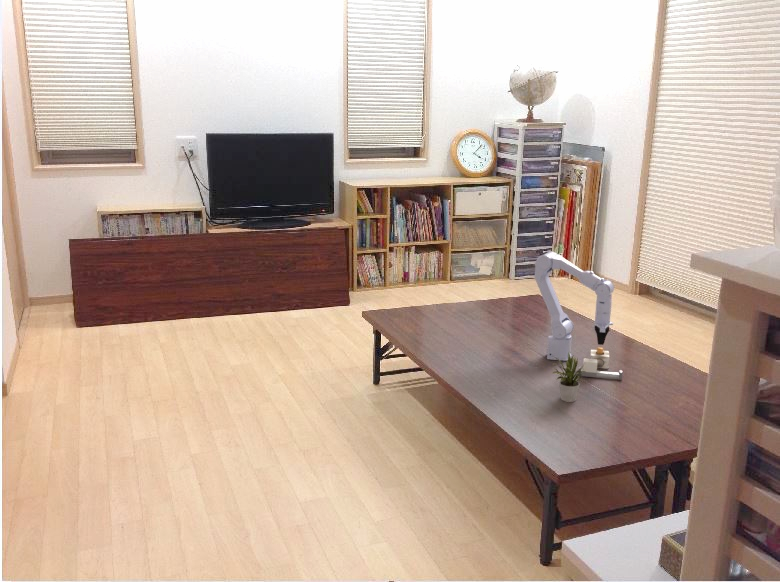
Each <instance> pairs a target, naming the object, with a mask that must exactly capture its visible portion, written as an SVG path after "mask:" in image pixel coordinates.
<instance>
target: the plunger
mask: <svg viewBox="0 0 780 582" xmlns="http://www.w3.org/2000/svg"><path fill="white" fill-rule="evenodd" d="M596 350H597V354H603V351H604V347H600V346H598V347H597V349H596Z"/></svg>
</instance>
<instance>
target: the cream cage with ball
mask: <svg viewBox="0 0 780 582" xmlns="http://www.w3.org/2000/svg"><path fill="white" fill-rule="evenodd" d="M589 355H590V357H589V359H597V369H609V367H610V352H609V350H603V354H597V349H590V354H589Z"/></svg>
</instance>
